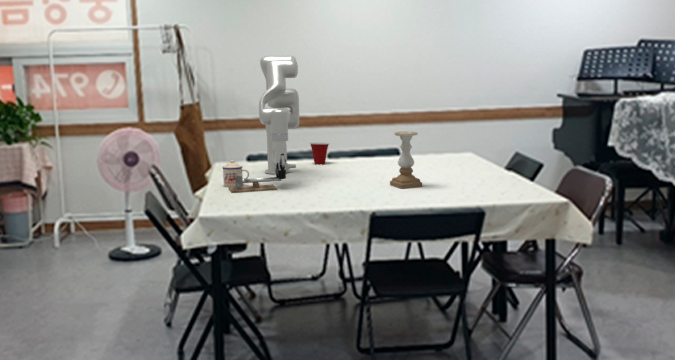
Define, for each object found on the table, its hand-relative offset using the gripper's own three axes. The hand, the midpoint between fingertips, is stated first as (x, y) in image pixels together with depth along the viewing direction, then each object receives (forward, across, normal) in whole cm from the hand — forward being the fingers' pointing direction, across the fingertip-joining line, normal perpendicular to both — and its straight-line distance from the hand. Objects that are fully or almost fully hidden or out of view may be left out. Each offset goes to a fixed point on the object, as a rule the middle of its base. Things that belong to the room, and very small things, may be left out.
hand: (280, 177), depth 303 cm
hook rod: (+2, 0, -8) cm, 8 cm away
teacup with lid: (+5, -13, -18) cm, 23 cm away
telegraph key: (+5, 0, -13) cm, 14 cm away
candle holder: (+5, +17, +53) cm, 56 cm away
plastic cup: (+5, -63, +35) cm, 72 cm away
